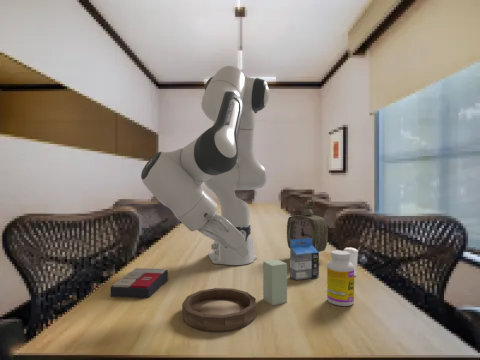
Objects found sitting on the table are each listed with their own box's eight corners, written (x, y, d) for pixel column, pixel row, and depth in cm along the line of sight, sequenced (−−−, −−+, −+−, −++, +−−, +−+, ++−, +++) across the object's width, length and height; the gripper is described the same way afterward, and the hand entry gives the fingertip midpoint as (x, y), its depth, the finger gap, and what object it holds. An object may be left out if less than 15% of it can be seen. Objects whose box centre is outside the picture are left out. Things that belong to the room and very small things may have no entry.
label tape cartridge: (296, 280, 92) (296, 241, 93) (289, 277, 96) (289, 239, 96) (319, 277, 96) (319, 239, 96) (312, 274, 99) (312, 237, 100)
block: (263, 299, 78) (263, 261, 78) (277, 296, 80) (277, 259, 80) (272, 305, 74) (272, 265, 74) (287, 302, 76) (287, 263, 76)
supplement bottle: (351, 309, 72) (351, 256, 72) (324, 303, 75) (324, 253, 75) (356, 300, 77) (356, 251, 77) (331, 295, 81) (330, 248, 81)
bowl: (175, 306, 73) (175, 294, 73) (237, 295, 80) (237, 284, 80) (195, 339, 58) (195, 324, 58) (269, 321, 65) (269, 308, 65)
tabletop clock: (286, 258, 121) (286, 197, 121) (301, 254, 126) (300, 196, 126) (315, 265, 109) (315, 198, 110) (330, 261, 115) (329, 198, 115)
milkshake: (362, 277, 96) (361, 246, 96) (344, 276, 97) (344, 246, 97) (359, 273, 100) (359, 244, 100) (342, 272, 101) (342, 243, 101)
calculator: (109, 284, 79) (135, 266, 94) (109, 300, 80) (135, 279, 95) (148, 286, 78) (168, 267, 93) (148, 302, 78) (168, 280, 93)
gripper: (225, 205, 60) (266, 249, 64) (195, 200, 78) (229, 234, 82) (204, 229, 58) (248, 272, 62) (179, 217, 76) (214, 251, 80)
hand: (237, 250), depth 72 cm, fingers open, 8 cm apart
